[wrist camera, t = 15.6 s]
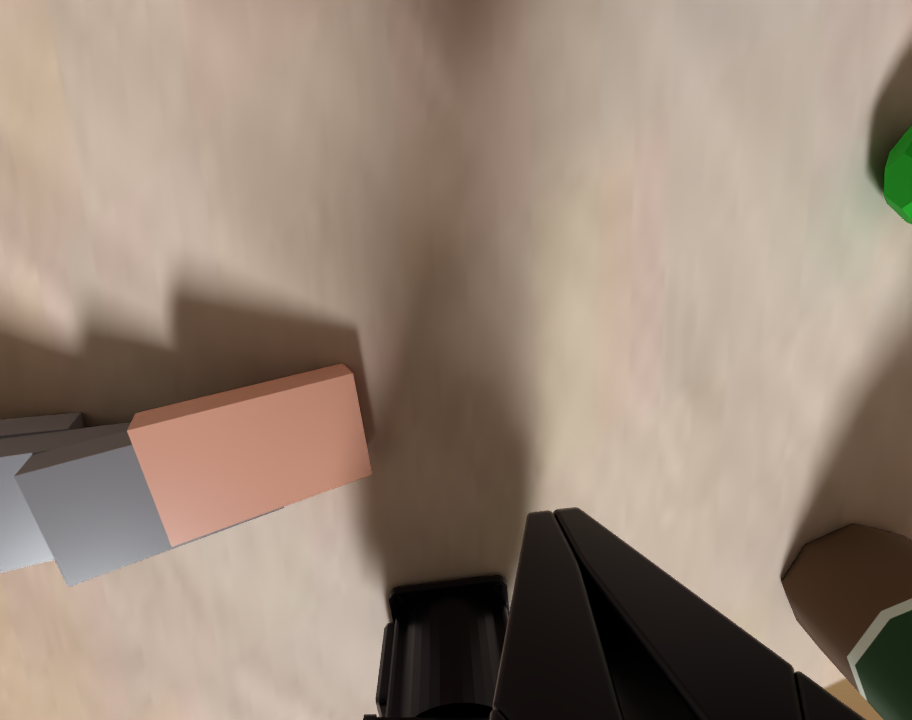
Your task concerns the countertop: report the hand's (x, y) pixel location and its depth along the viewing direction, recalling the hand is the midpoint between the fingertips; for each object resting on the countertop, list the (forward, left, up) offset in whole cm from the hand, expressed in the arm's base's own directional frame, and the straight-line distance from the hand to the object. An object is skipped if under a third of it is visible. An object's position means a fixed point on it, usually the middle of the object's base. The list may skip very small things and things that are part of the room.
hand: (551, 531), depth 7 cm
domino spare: (+6, +3, -12) cm, 14 cm away
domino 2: (+10, +4, -12) cm, 17 cm away
